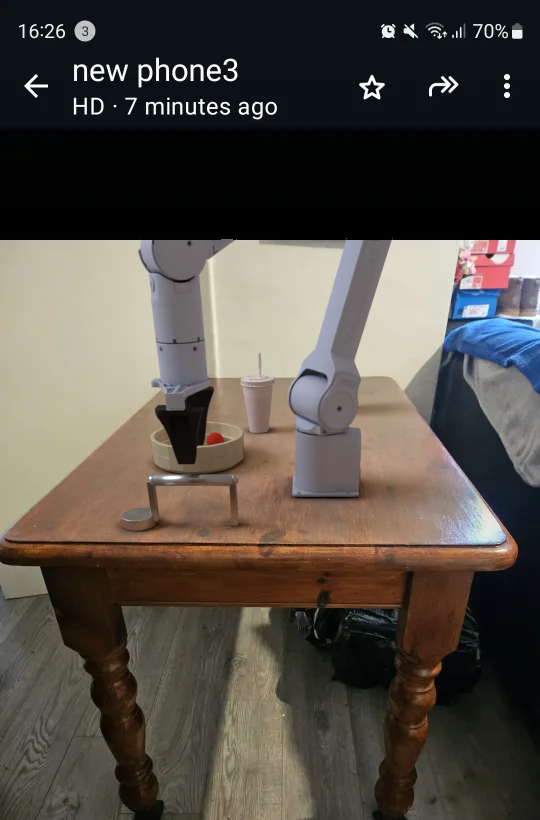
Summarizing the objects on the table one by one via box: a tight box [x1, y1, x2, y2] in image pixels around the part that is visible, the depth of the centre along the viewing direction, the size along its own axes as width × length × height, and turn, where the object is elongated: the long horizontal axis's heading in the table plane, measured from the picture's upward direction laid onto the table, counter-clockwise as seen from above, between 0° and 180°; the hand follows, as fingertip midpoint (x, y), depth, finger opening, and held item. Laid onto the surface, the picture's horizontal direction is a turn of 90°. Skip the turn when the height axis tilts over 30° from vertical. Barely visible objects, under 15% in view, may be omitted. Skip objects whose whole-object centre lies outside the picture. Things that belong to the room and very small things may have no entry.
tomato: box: [207, 432, 224, 445], centre depth 100 cm, size 3×3×3 cm
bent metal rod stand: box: [120, 473, 239, 532], centre depth 74 cm, size 16×4×7 cm, turn 87°
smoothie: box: [240, 352, 276, 434], centre depth 110 cm, size 6×6×14 cm
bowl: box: [149, 421, 245, 475], centre depth 97 cm, size 15×15×4 cm
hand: (191, 453), depth 75 cm, fingers open, 7 cm apart
